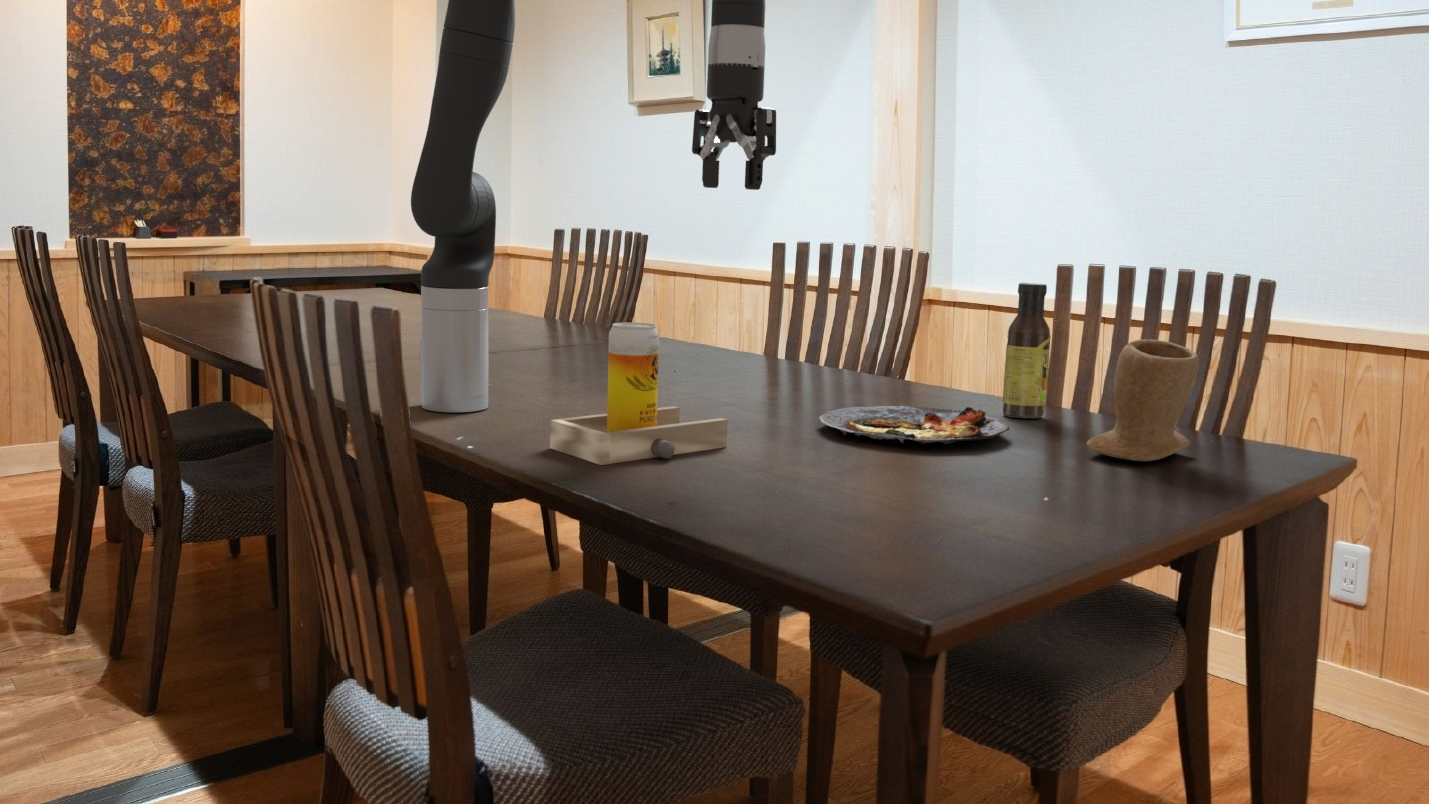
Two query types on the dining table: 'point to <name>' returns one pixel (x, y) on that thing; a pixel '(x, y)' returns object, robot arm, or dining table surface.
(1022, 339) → the sauce bottle
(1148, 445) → the stone cup
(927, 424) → the food plate
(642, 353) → the beer can
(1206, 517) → the dining table surface
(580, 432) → the wooden stick frame
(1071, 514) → the dining table surface
